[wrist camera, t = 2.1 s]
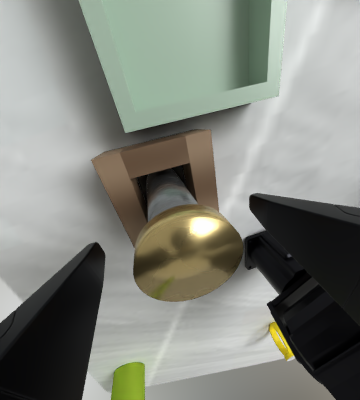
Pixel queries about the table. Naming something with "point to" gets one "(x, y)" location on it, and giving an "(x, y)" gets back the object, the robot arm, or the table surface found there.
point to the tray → (186, 55)
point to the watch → (284, 351)
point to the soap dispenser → (129, 382)
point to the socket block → (152, 162)
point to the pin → (182, 243)
